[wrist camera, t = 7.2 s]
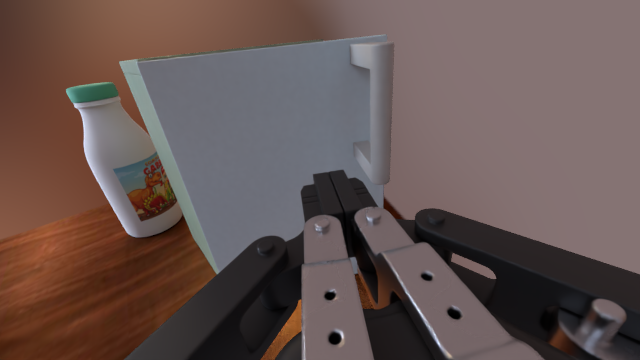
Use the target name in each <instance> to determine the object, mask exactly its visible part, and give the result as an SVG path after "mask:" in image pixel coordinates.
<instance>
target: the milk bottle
mask: <svg viewBox="0 0 640 360" xmlns="http://www.w3.org/2000/svg"><path fill="white" fill-rule="evenodd" d="M66 92H67V94H68V96H69V98H70V100H71V101H72V102H73V103H74V106H75V108H77V109H78V110H79V111H80V113H81V116H82V120H83V126H84V151H85V156H86V159H87V161H88V164H89V166H90V168H91V170H92V172H93V174H94V176H95V178H96V179H97V181H98V183H99V185H100V187H101V188H102V190H103V192H104V194H105V195H106V197H107V199H108V201H109V203H110V204H111V206H112V208H113V210H114V211H115V213H116V215H117V217H118V218H119V220H120V222H121V223H122V225H123V227H124V228H125V230H126V232H127V233H128V234H129V235H131V236H133V237H148V236H152V235H155V234H158V233H161V232H163V231H165V230H167V229H169V228H170V227H172V226H173V225H175V224H176V223H177V222H178V221H179V220H180V219H181V217H182V210H181V208H180V205H179V203H178V201H177V198H176V196H175V194H174V191H173V189H172V186H171V184H170V182H169V179H168V177H167V175H166V172H165V170H164V168H163V165H162V163H161V160H160V158H159V156H158V153H157V151H156V149H155V146H154V144H153V142H152V140H151V138H150V137H149V135H148V134H147V133H146V132H145V131H144V130H143V129H142V128H141V127H140V126H139V125H138V124H136V123H135V122H134V121H133V120H132V119H131V117H130V116H129V115H128V114H127V113H126V112H125V110H124V109H123V108H122V106H121V103H120V100H121V98H119V96H118V91H117V89H116V87H115V85H114V84H113V83H112V82H104V83H95V84H87V85H81V86H75V87H71V88H68V89H67V90H66Z"/></svg>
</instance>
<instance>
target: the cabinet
mask: <svg viewBox="0 0 640 360" xmlns="http://www.w3.org/2000/svg"><path fill="white" fill-rule="evenodd" d="M322 41H323V40H322V39H321V40H312V41H303V42H294V43H283V44H274V45H265V46H256V47H246V48H237V49H228V50H219V51H210V52H201V53H190V54H182V55H172V56H163V57H154V58H144V59H135V60H128V61H120V62H119V63H120V66H121V68H122V70H123V72H124V75H125V77H126V80H127V82H128V85H129V87H130V89H131V92H132V94H133V97H134V99H135V101H136V104H137V106H138V108H139V111H140V113H141V115H142V118H143V120H144V122H145V125H146V127H147V130H148V132H149V134H150V137H151V139H152V142H153V144H154V146H155V149H156V151H157V153H158V156H159V158H160V160H161V163H162V165H163V168H164V170H165V172H166V175H167V177H168V179H169V182H170V184H171V186H172V189H173V191H174V194H175V196H176V198H177V201H178V203H179V205H180V208H181V210H182V213H183V215H184V217H185V220H186V222H187V224H188V227H189V229H190V231H191V234H192V236H193V238H194V240H195V241H196V243H197V244H198V246H199V247H200V249H201V250H202V252H203V254H204V255H205V257H206V258H207V260H208V261H209V263H210V265H211V266H212V268H213V269H214V271H215V272H216V274H218V273H219V272H218V269H217V267H216V264H215V262H214V259H213V257H212V254H211V252H210V249H209V246H208V244H207V241H206V239H205V236H204V234H203V231H202V229H201V226H200V224H199V221H198V219H197V216H196V213H195V211H194V208H193V206H192V203H191V201H190V198H189V196H188V193H187V191H186V188H185V186H184V183H183V181H182V178H181V175H180V173H179V170H178V168H177V165H176V163H175V160H174V158H173V155H172V153H171V150H170V148H169V145H168V143H167V140H166V137H165V135H164V132H163V130H162V127H161V125H160V122H159V120H158V117H157V115H156V112H155V110H154V107H153V104H152V102H151V99H150V97H149V94H148V92H147V89H146V87H145V84H144V82H143V79H142V77H141V74H140V72H139V69H138V66H137V64H136V62H141V61H150V60H159V59H168V58H177V57H186V56H195V55H204V54H213V53H222V52H231V51H240V50H250V49H259V48H268V47H277V46H286V45H295V44H304V43H313V42H322Z"/></svg>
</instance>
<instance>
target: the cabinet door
mask: <svg viewBox="0 0 640 360" xmlns="http://www.w3.org/2000/svg"><path fill="white" fill-rule="evenodd" d="M136 64H137V66H138V69H139V72H140V74H141V77H142V79H143V82H144V84H145V87H146V89H147V92H148V94H149V97H150V99H151V102H152V104H153V107H154V110H155V112H156V115H157V117H158V120H159V122H160V125H161V127H162V130H163V132H164V135H165V137H166V140H167V143H168V145H169V148H170V150H171V153H172V155H173V158H174V160H175V163H176V165H177V168H178V170H179V173H180V175H181V178H182V181H183V183H184V186H185V188H186V191H187V193H188V196H189V198H190V201H191V203H192V206H193V208H194V211H195V213H196V216H197V219H198V221H199V224H200V226H201V229H202V231H203V234H204V236H205V239H206V241H207V244H208V246H209V249H210V252H211V254H212V257H213V259H214V262H215V264H216V267H217V269H218V272H221V271H222V270H223V269H224V268H225V267H226V266H227V265H228V264H229V263H230V262H231V261H233V260H234V259H235V258H236V257H237V256H238V255H239V254H240V253H241V252H242V251H244V250H245V249H246V248H247V247H248V246H249V245H250V244H251V243H252V242H254V241H255V240H257V239H259V238H261V237H265V236H279V237H281V238H283V239H284V240H285V242H286V241H288V240H291V239H293V238H295V237H296V236H298V235H299V234H300V233H301V232H302V231H303V230H304V225H305V220H304V213H303V206H302V199H301V193H300V191H301V190H302V188H303V186H305V185H311V184H314V181H313V174H317V173H324V172H330V171H336V170H344V171H345V173H346V175H347V177H348V178H354V177H356V178H357V179H359V180H361V181H363V183H364V185H365V186H366V188H367V189H368V191H369V193H370V194H371V196H372V197H373V199H374V201H375V202H376V204H377V205H378V207H379V208H383V199H384V184H387V183H388V182H389V179H390V153H391V124H392V94H393V65H394V43H393V42H387V35H377V36H369V37H368V36H367V37H359V38H350V39H341V40H331V41H322V42H313V43H304V44H295V45H286V46H277V47H268V48H259V49H250V50H240V51H231V52H222V53H213V54H204V55H195V56H186V57H177V58H168V59H159V60H150V61H141V62H136ZM350 259H351V262H352V267H353V271H354V274H358V272H357V261H356V258H355V257H352V258H350Z"/></svg>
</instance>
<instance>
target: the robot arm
mask: <svg viewBox="0 0 640 360" xmlns="http://www.w3.org/2000/svg"><path fill="white" fill-rule="evenodd" d="M313 181H314V184H311V185H305V186H303V188H302V190H301V191H300V193H301V199H302V206H303V213H304V220H305V225H304V230H303V231H302V232H301V233H300V234H299V235H298V236H296V237H295V238H293V239H291V240H288V241H286V242H285V240H284V239H283V238H281V237H279V236H265V237H261V238H259V239H257V240H255V241H254V242H252V243H251V244H250V245H249V246H248V247H247V248H246V249H245V250H244V251H242V252H241V253H240V254H239V255H238V256H237V257H236V258H235V259H234V260H233V261H231V262H230V263H229V264H228V265H227V266H226V267H225V268H224V269H223V270H222V271H221V272H219V273H218V274H217V275H216V276H215V277H214V278H213V279H212V280H211V281H210V282H208V283H207V284H206V285H205V286H204V287H203V288H202V289H201V290H200V291H199V292H197V293H196V294H195V295H194V296H193V297H192V298H191V299H190V300H189V301H188V302H186V303H185V304H184V305H183V306H182V307H181V308H180V309H179V310H178V311H177V312H175V313H174V314H173V315H172V316H171V317H170V318H169V319H168V320H167V321H166V322H165V323H163V324H162V325H161V326H160V327H159V328H158V329H157V330H156V331H155V332H154V333H152V334H151V335H150V336H149V337H148V338H147V339H146V340H145V341H144V342H143V343H141V344H140V345H139V346H138V347H137V348H136V349H135V350H134V351H133V352H132V353H130V354H129V355H128V356H127V357H126V358H125V359H124V360H260V359H261V358H262V356H263V355H264V354H265V352H266V351H267V349H268V348H269V346H270V345H271V343H272V342H273V341H274V339H275V338H276V336H277V335H278V333H279V332H280V330H281V329H282V328H283V326H284V325H285V323H286V322H287V320H288V319H289V317H290V316H291V315H292V313H293V312H294V310H295V309H296V307H297V304H298V300H300V299H302V331H301V332H300V333H298V334H297V335H296V336H295V337H293V338H292V339H291V340H290V341H289V342H288V343H287V344H286V345H285V346H284V347H283V349H282V350H281V351H280V352H279V354H278V355H277V357H276V358H275V360H640V274H637V273H633V272H630V271H628V270H624V269H621V268H618V267H615V266H612V265H609V264H606V263H603V262H600V261H597V260H593V259H591V258H587V257H585V256H581V255H578V254H575V253H572V252H569V251H566V250H563V249H560V248H557V247H554V246H551V245H548V244H545V243H542V242H539V241H536V240H532V239H529V238H526V237H523V236H520V235H517V234H514V233H511V232H508V231H505V230H502V229H499V228H495V227H492V226H490V225H487V224H483V223H480V222H477V221H474V220H471V219H468V218H465V217H462V216H459V215H456V214H453V213H450V212H447V211H443V210H440V209H424V210H421V211H419V212H418V213H417V214H416V216H415V220H401V219H395V218H394V217H393V216H392V215H391V214H390V213H389V212H388V211H387V210H385V209H383V208H379V207H378V205H377V204H376V202H375V201H374V199H373V197H372V196H371V194H370V193H369V191H368V189H367V188H366V186H365V185H364V183H363V181H361V180H359V179H357V178H356V177H354V178H348V177H347V175H346V173H345V171H344V170H336V171H330V172H324V173H317V174H313ZM452 253H455V254H457V255H460V256H462V257H464V258H467V259H469V260H472V261H474V262H477V263H479V264H481V265H483V266H486V267H488V268H489V269H491V270H492V271H493V272H494V274H495V275H496V279H490V278H487V277H485V276H483V275H480V274H478V273H476V272H474V271H471V270H469V269H467V268H465V267H462V266H460V265H458V264H456V263H453V262H451V258H452ZM352 257H355V258H356V261H357V272H358V275H359V277H360V279H361V281H362V284H363V286H364V288H365V290H366V292H367V295H368V297H369V299H370V301H371V303H372V306H373V308H374V309H362V305H361V301H360V297H359V292H358V288H357V284H356V279H355V275H354V271H353V267H352V262H351V259H350V258H352Z"/></svg>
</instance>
